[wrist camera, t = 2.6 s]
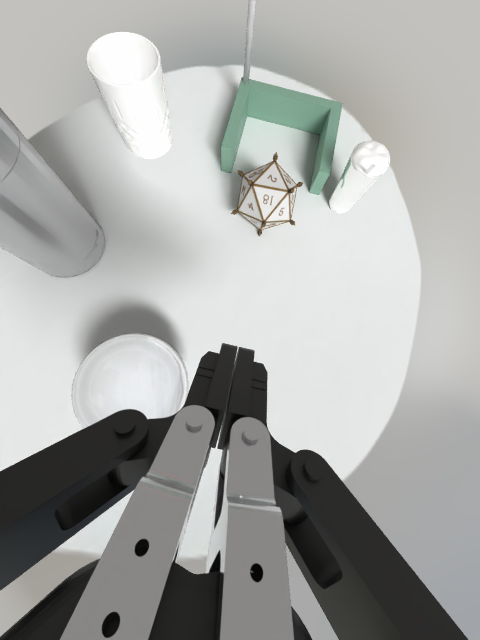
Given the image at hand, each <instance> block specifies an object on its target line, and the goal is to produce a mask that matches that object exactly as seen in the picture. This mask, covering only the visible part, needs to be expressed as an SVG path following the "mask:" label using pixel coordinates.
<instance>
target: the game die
mask: <svg viewBox="0 0 480 640" xmlns="http://www.w3.org/2000/svg"><path fill="white" fill-rule="evenodd" d="M273 156H274V157H273V161H272V162H270V163H268V164H266V165H264V166H261V167H259V168H257V169H255V170H253V171H250V172H248V173H246V174H243V172H242V171H239V170H238V173H239V175H240V176H242V182H241V188H240V195H239V201H238V207H237V210H233V211H232V213H231V214H234V215H235V214H236V213H237V212H239V213H240V214H241V215H242V216H243V217H245V218H246V219H247V220H248V221H249V222H251V223H252V224H253V225H254V226H256V227H257V228H258V229H259V231H258V234H259V236H260V235H261V234H262V230H263V229H267V228H270V227H273V226H276V225H280V224H283V223H286V222H290V224H292V225H295V221H293V220H291V217H292V212H293V206H294V201H295V196H296V191H297V187H300V186H302V184H303V183H302V182H299V183H298V184H296V183H295V182H294V181H293V180H292V179H291V178H290V177H289V175H288V174H287V173H286V172H285V171H284V170H283V169H282V168H281V167H280V165H279V164H278V163H277V162H276V160H277V157H278V156H277V152H276V153H275V155H273Z"/></svg>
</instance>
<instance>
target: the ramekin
mask: <svg viewBox="0 0 480 640" xmlns="http://www.w3.org/2000/svg"><path fill="white" fill-rule="evenodd" d="M187 394H188V375H187V371H186V367H185V365H184V363H183V361H182V359H181V357H180V356H179V354H178V353H177V352H176V351H175V350H174V349H173V348H172V347H171V346H170V345H169V344H168V343H166V342H164V341H163V340H161V339H159V338H157V337H154V336H151V335H147V334H141V333H130V334H123V335H119V336H116V337H113V338H110V339H108V340H106V341H104V342H103V343H101V344H100V345H98V346H97V347H95V348H94V349H93V350H92V351H91V352H90V353H89V354H88V355H87V356H86V357H85V359H84V360H83V361H82V363H81V364H80V366H79V368H78V370H77V372H76V374H75V378H74V381H73V386H72V404H73V409H74V413H75V415H76V417H77V419H78V422H79V423H80V425H81V426H82V427H83V428H86V427H88V426H90V425H92V424H94V423H96V422H98V421H100V420H102V419H104V418H106V417H108V416H110V415H112V414H114V413H116V412H118V411H121V410H125V409H135V410H138V411H140V412H142V413H143V414H144V415H145V416H146V417H147V419H155V418H165V417H169V416H171V415H174V414H175V413H177V412H178V411H179V410H180V409H181V408H182V407H183V406H184V404H185V401H186V398H187Z"/></svg>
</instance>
